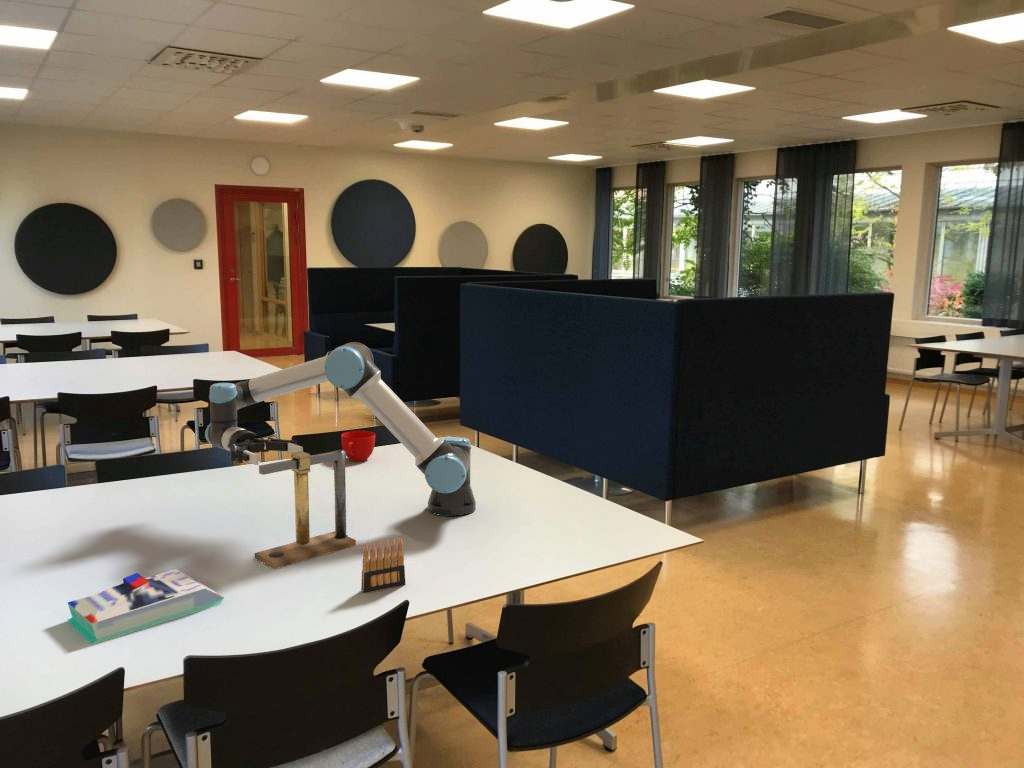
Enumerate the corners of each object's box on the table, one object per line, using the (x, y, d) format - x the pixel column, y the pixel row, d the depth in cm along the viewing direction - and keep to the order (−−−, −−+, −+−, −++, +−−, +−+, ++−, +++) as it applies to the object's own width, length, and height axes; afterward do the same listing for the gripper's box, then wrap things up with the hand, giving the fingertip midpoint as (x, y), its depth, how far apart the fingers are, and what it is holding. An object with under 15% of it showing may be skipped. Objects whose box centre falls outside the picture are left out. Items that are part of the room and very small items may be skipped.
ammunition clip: (363, 593, 195) (363, 545, 193) (361, 590, 196) (360, 542, 194) (405, 584, 200) (405, 538, 198) (402, 582, 202) (402, 535, 200)
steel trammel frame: (342, 534, 230) (340, 449, 226) (348, 536, 228) (347, 451, 224) (261, 556, 213) (257, 465, 209) (266, 559, 211) (263, 467, 207)
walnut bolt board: (336, 535, 233) (336, 530, 233) (357, 544, 226) (357, 539, 226) (254, 558, 215) (254, 552, 215) (274, 569, 208) (273, 563, 208)
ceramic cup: (332, 465, 308) (332, 439, 307) (348, 454, 325) (348, 430, 323) (365, 467, 306) (365, 441, 304) (380, 456, 323) (379, 431, 321)
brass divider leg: (304, 541, 222) (302, 451, 218) (313, 545, 219) (310, 453, 215) (292, 544, 220) (290, 453, 216) (301, 548, 217) (298, 456, 213)
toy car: (60, 623, 178) (57, 584, 177) (193, 584, 200) (191, 550, 198) (88, 649, 167) (85, 609, 165) (227, 605, 188) (225, 569, 187)
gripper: (279, 447, 246) (319, 461, 232) (199, 461, 228) (237, 477, 214) (278, 423, 245) (319, 435, 231) (198, 435, 227) (236, 449, 213)
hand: (280, 455), depth 222 cm, fingers open, 13 cm apart
